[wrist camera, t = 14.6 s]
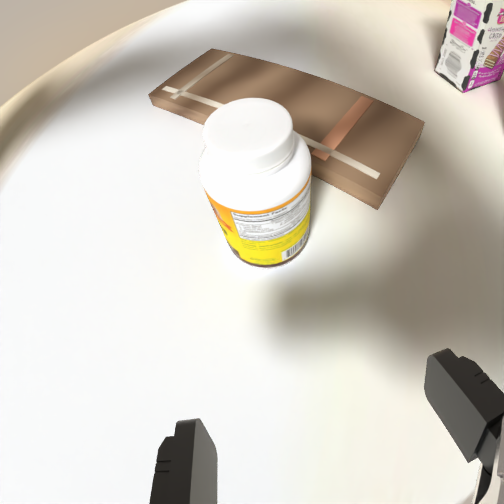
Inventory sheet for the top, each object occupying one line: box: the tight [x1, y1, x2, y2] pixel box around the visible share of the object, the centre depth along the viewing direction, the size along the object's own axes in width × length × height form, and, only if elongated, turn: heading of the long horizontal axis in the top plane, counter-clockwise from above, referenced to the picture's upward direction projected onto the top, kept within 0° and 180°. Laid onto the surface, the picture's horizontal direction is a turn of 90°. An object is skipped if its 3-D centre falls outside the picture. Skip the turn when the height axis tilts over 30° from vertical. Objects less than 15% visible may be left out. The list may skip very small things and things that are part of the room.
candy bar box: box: [435, 0, 504, 93], centre depth 21 cm, size 11×5×16 cm, turn 119°
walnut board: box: [148, 49, 425, 210], centre depth 27 cm, size 25×10×2 cm, turn 52°
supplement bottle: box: [199, 98, 311, 269], centre depth 18 cm, size 6×6×10 cm
